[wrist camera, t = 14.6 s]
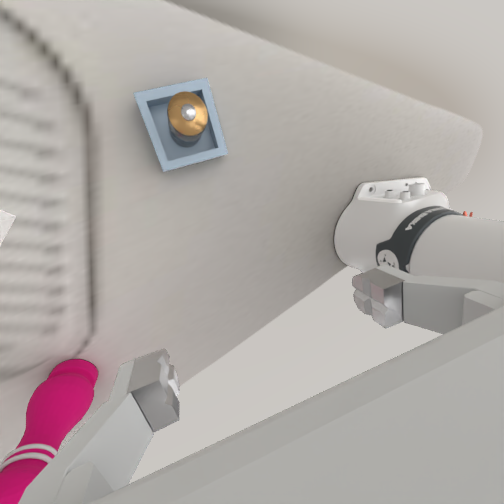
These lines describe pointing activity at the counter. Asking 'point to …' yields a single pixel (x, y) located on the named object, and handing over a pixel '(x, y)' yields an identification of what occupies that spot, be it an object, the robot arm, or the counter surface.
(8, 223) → the milk
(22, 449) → the pepper mill
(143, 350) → the counter surface
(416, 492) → the robot arm
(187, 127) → the cell
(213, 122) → the light blue square tray
